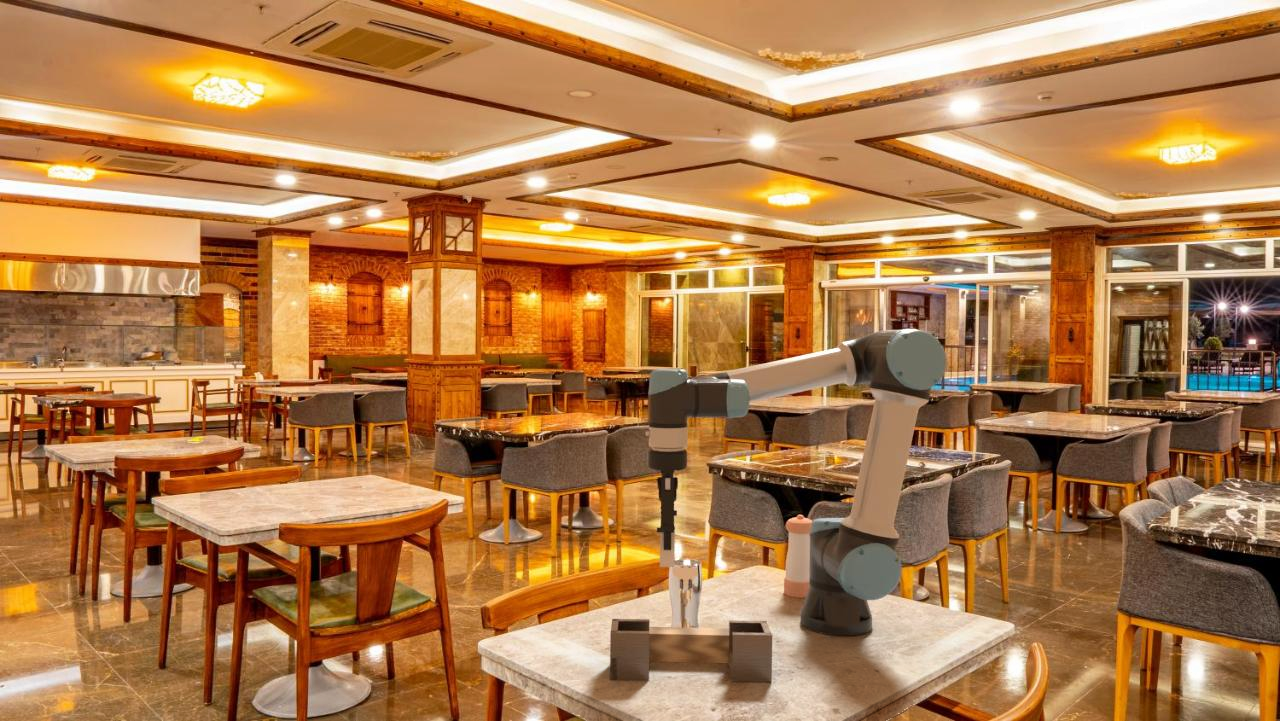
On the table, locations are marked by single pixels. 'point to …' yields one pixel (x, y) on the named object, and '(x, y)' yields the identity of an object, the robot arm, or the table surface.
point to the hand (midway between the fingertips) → (667, 557)
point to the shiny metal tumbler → (685, 592)
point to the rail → (689, 644)
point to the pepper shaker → (798, 557)
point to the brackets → (745, 650)
